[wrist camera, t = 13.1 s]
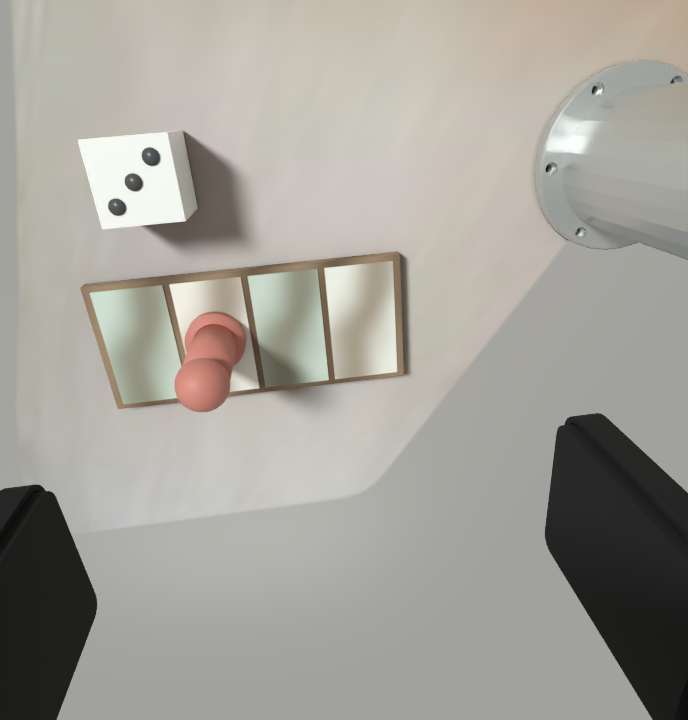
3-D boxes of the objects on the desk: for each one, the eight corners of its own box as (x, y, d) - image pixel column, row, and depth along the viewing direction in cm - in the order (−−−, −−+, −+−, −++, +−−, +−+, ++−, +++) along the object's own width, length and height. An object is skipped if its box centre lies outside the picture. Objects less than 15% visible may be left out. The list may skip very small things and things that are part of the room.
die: (182, 130, 34) (167, 132, 29) (197, 208, 36) (185, 221, 32) (105, 137, 34) (77, 140, 29) (125, 215, 36) (101, 229, 31)
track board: (397, 251, 39) (400, 255, 38) (401, 370, 43) (404, 375, 42) (84, 284, 37) (79, 288, 36) (121, 403, 42) (117, 409, 41)
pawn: (241, 308, 38) (229, 361, 30) (250, 361, 40) (241, 424, 32) (181, 314, 38) (152, 369, 30) (193, 368, 40) (169, 433, 32)
